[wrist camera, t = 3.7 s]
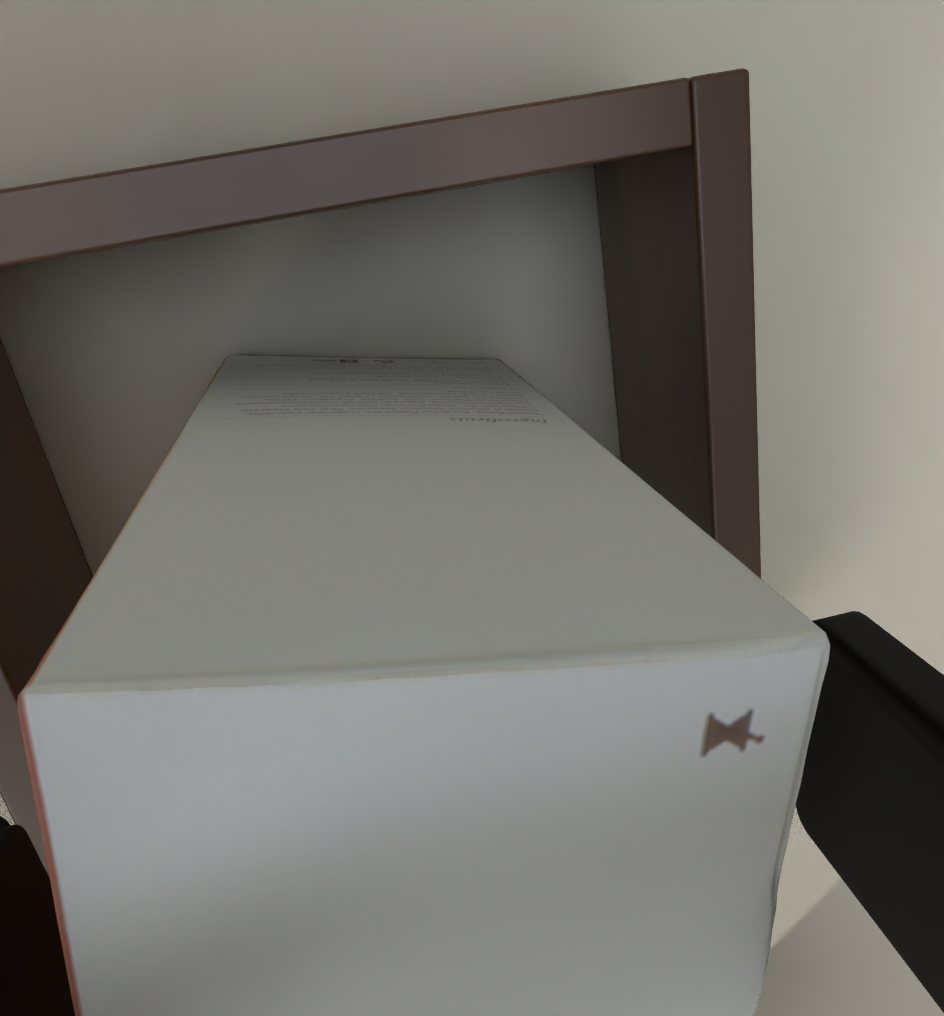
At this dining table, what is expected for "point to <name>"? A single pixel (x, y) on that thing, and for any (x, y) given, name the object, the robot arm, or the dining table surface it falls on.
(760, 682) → the small box
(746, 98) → the wooden frame
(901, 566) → the dining table surface
